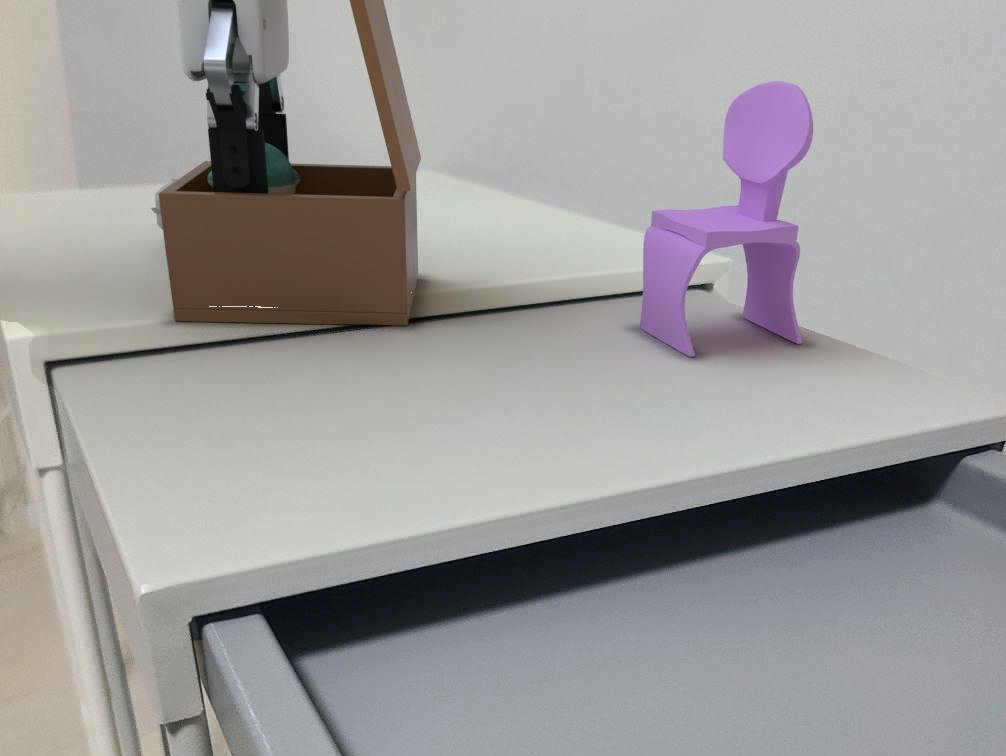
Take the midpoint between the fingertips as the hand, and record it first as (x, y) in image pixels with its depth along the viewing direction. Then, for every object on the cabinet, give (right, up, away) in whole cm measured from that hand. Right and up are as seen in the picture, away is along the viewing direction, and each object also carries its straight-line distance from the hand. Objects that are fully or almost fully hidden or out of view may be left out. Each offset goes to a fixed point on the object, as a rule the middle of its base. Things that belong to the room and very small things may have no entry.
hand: (254, 184), depth 69 cm
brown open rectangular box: (+3, -6, +4) cm, 8 cm away
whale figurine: (0, -1, 0) cm, 1 cm away
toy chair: (+30, -10, -1) cm, 32 cm away
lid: (+8, +7, -3) cm, 12 cm away
